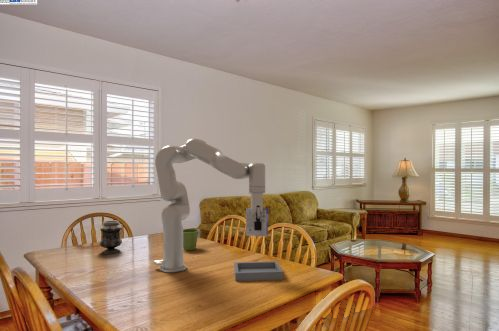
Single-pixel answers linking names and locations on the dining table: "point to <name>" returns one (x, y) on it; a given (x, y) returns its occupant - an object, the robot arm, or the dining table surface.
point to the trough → (257, 271)
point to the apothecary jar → (110, 236)
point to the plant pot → (190, 238)
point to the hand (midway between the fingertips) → (257, 228)
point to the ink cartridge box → (250, 223)
